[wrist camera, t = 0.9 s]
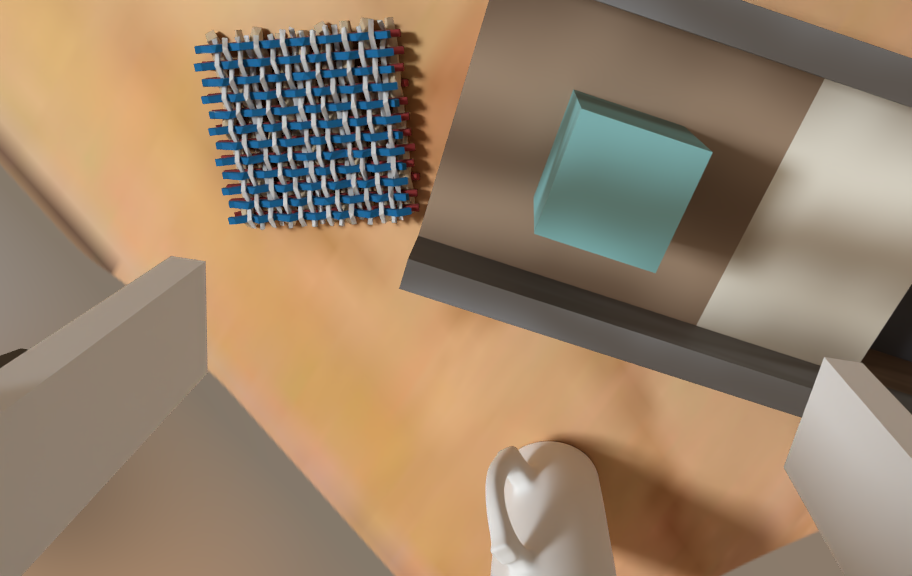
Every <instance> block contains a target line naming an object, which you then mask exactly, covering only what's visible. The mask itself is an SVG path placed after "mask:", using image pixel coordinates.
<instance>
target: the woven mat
mask: <svg viewBox="0 0 912 576" xmlns="http://www.w3.org/2000/svg"><path fill="white" fill-rule="evenodd" d="M377 22H378V24H379V26H380V28H381V30H374V20H373V19H368V18H361V20H360V23H359V26H357V27H356V29H357V32H352V33H351V29H350V24H349V21H339V25H340V34H338V32H337V25H331V27H332V34H331V33H330V30H329V29H328V26H327V25H325V24H324V22H323V21H321V22H319V23H318V24H316V25H314V29H315V30H310V36H309V33H308V32H307V30H299V31H296V34H295V31H294V29H293V28H291V27H290V26H289V32H290V36H291V38H286V35H285V30H282V29H280V33H275V36H276V39H274V37H273V34H269V35H267V36H268V39H267V40H263V31H262V28H261V27H252V31H251V35H250V41H249V36H244V38H243V34H242V30H235V40H236V42H233V43H228V38H222V42H221V41H220V39H219V38H218V36H217V35H216V33H215V32H214V30H212V31H210V32H208V33H206V34H205V35H206V39H207V42H208V44H209V45H201V46H195V47H194V48H195V52H196V54H204V53H212V55H213V60H214V61H208V62H202V63H197V64H194V67H195V71H196V72H197V71H206V70H216V74H217V77H214V78H206V79H202V84H203V87H217V86H219V88H220V93H215V94H208V95H207V96H202V97H201V99H202V103H203V104H209V103H218V102H223V107H224V109H220V110H212V111H209V116H210V119H223V123H222V124H221V125H216V128H208V130H209V134H210V136H212V135H222V134H226V136H227V137H228V139H229V140H220V141H218V142H216V148H217V149H223V150H233V154H234V155H223V156H221V158H220V159H215V162H216V166H224V165H233V164H236V169H233V170H225V171H224V172H223V173H222V175H223V179H233V180H239V183H240V184H228V185H227V186H226V187H227V188H222V193H223V195H233V194H241V193H242V197H243V198H234V199H231V200H229V207H230V208H239V209H241V211H239V212H235V213H234V214H235V217H229V218H228V220H229V224H240V223H245V224H246V225H247V227H250V228H256V226H257V225H258V224H260V229H261V230H263V229H265V222H270V224H271V225H272V227H275V228H277V227H276V224H275V222H274V221H275V220H278V221H279V223H280V225H281V226H284V222H285V223H286V224H288V225H289V228H293V226H294V225H296V221H297V220H299V221H300V223H301V225H302V227H304V226H307V224H306V222H305V220H304V219H307V220H312V227H318V220H320V223H321V224H325V223H326V221H325V219H327V222H329V224H330V225H331V226H333V225H334V224H335V223H334V222H336V221H338V220H339V226H344V220H346V221H347V222H348V223H350V224H352V225H353V224H357V222H356V216H357V217H360V219H361V220H364V219H365V218H368V224H370V225H373V217H377V216H380V219H381V221H382V223H386V222H387V221H392V223H397V217H399V220H403V216H405V215H410V214H412V213H414V212H417V211H419V204H415V197H417V196H418V192H417V189H413V184H412V180H416V181H417V180H420V173H415V172H411V167H414V159H410V154H409V151H415V143H412V144H408V136H411V135H412V134H411V128H407V126H406V120H409V119H410V118H409V112H406V113H405V108H404V105H406V104H408V98H407V97H403V90H402V87H406V86H409V82H408V79H401V71H404V63H399V54H404V47H403V46H398V43H397V37H400V36H401V32H400V29H395V24H394V20H393V17H388V18H385V25H384V23H383V21H382V20H377ZM316 34H317V35H316ZM375 39H381V41H380V48H377V47H376V43H375ZM353 41H359V49H357V50H354V49H353ZM339 42H341V47H342V51H341V49H340V46H339ZM332 43H334V46H335V51H333V49H332ZM317 44H319V47H320V52H319V50H318V47H317ZM385 44H386V47H385ZM309 45H311V46H312V49H313V51H314V53H310V46H309ZM288 46H292V55H289V51H288ZM266 48H271V57H269V52H268V51H267V49H266ZM276 48H277V49H278V55H279V56H276ZM229 51H237V56H238V59H233V58H232V56H231V54H230V52H229ZM248 56H249V58H248ZM386 56H387V63H388V64H387V63H386ZM225 57H226V59H227V60H225ZM378 57H381V65H378ZM357 58H360V60H361V64H362V66H355V59H357ZM334 60H336V64H337V68H335V63H334ZM315 62H316V70H314V65H313V63H315ZM321 62H322V67H323V69H320V67H321ZM293 63H294V68H295V72H292V67H291V64H293ZM277 64H280V68H281V73H280V71H279V68H278V66H277ZM271 65H272V67H273V69H274V71H275V73H272V71H271ZM256 67H259V71H260V74H256ZM235 68H239V72H240V76H234V72H235ZM228 69H229V74H228ZM300 69H301V70H300ZM381 73H382V78H383V81H381V79H380V75H379V74H381ZM357 75H363V83H359V80H358V78H357ZM337 77H338V79H339V84H337ZM322 78H324V80H325V85H324V83H323V80H322ZM316 79H317V81H318V84H319V86H317V85H316ZM302 80H304V86H305V87H303V81H302ZM282 81H283V87H284V88H282ZM294 81H297V85H298V87H295V82H294ZM344 81H345V83H344ZM260 82H261V84H262V87H263V90H259V87H258V83H260ZM274 82H276V89H275V87H274ZM236 84H239V85H238V88H237V86H236ZM231 88H232V89H231ZM232 90H233V92H232ZM360 92H364V95H365V98H366V100H361V98H360ZM339 93H341V99H342V101H340V98H339ZM346 93H348V100H349V101H347V95H346ZM389 94H390V97H391V98H388V96H389ZM326 95H327V100H328V102H326ZM304 96H306V99H307V103H304ZM318 96H321V103H319V98H318ZM283 97H284V98H283ZM298 97H299V99H298ZM277 98H278V100H279V102H280V105H278V104H277ZM261 100H265V103H266V106H264V107H262V103H261ZM234 102H236V108H235V103H234ZM241 103H242V104H243V106H244V108H241ZM390 106H391V107H392V111H393V113H390V108H389V107H390ZM362 109H366V110H367V115H363V113H362ZM342 110H343V112H342ZM348 110H350V115H351V116H348ZM327 111H328V113H327ZM321 112H322V114H323V118H322V117H321ZM305 113H309V117H310V119H307V117H306V114H305ZM263 115H267V117H268V120H269V122H263ZM280 115H282V121H281V120H280ZM243 117H248V119H249V123H245V121H244V119H243ZM301 118H302V119H301ZM237 119H238V121H239V122H237ZM287 119H288V120H287ZM393 123H394V124H393ZM364 125H368V126H369V130H365V128H364ZM349 126H352V129H353V132H350V130H349ZM385 126H387V127H388V129H387V128H386V129H384V127H385ZM310 128H311V129H312V135H309V129H310ZM323 128H326V131H325V134H324V130H323ZM288 129H291V133H292V136H291V134H290V132H289V130H288ZM282 130H283V132H284V134H285V135H282ZM264 131H265V132H269V134H268V136H265V133H264ZM331 132H332V133H331ZM248 133H251V134H252V138H250V139H247V134H248ZM241 134H242V137H241ZM386 139H389V142H388V143H387V140H386ZM353 141H354V144H355V147H354V148H352V142H353ZM366 141H370V142H371V146H370V147H367V143H366ZM395 141H396V145H394V142H395ZM332 143H334V146H335V148H333V146H332ZM311 144H312V148H311ZM325 144H327V145H328V147H325ZM293 146H294V150H295V151H293ZM268 147H271V149H272V151H273V152H270V153H268ZM286 147H288V151H286ZM249 148H254V150H255V153H254V154H251V152H250V150H249ZM244 150H245V152H246V154H245V152H244ZM395 155H398V160H396V157H395ZM369 156H372V158H373V160H371V159H368V157H369ZM353 157H355V161H354V158H353ZM336 159H337V163H335V160H336ZM294 160H296V162H297V166H296V164H295V162H294ZM328 160H331V161H330V164H329V161H328ZM288 161H289V163H290V165H291V166H289V164H288ZM314 161H315V163H316V165H314ZM349 161H350V162H349ZM270 162H273V163H277V167H271V165H270ZM256 163H257V165H258V168H253V164H256ZM247 165H248V167H247ZM397 169H398V170H399V173H398V172H397ZM356 172H357V175H358V177H356ZM371 172H374V173H375V176H371ZM336 173H339V178H338V176H337V174H336ZM315 174H316V175H319V176H320V179H317V177H316V175H315ZM330 174H332V176H333V178H331V175H330ZM298 176H299V179H300V180H298ZM274 177H278V178H279V180H280V181H277V180H274ZM291 177H293V181H292V180H291ZM255 178H257V180H255ZM250 180H251V181H250ZM373 186H376V189H377V191H372V187H373ZM358 187H359V188H361V190H362V192H359V190H358ZM394 187H395V189H396V190H394ZM320 189H322V193H321V190H320ZM340 189H341V192H342V193H340ZM293 190H294V191H293ZM314 190H315V192H313V191H314ZM333 190H335V193H333ZM353 191H354V192H353ZM276 192H282V195H283V196H278V195H277V193H276ZM294 192H295V194H294ZM259 193H260V195H261V196H262V197H259ZM253 194H255V196H253ZM394 200H397V205H395V202H394ZM402 201H404V204H402ZM340 202H341V203H340ZM362 202H363V203H364V206H362ZM374 202H379V206H374ZM354 203H357V205H354ZM335 204H336V206H335ZM315 205H318V209H317V208H316V206H315ZM323 205H324V207H325V208H323ZM281 206H284V208H285V210H284V211H282V209H281ZM261 207H267V210H268V211H262V209H261ZM296 207H298V210H297V208H296ZM255 209H256V210H255ZM303 209H304V210H303ZM256 229H257V228H256Z"/></svg>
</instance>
